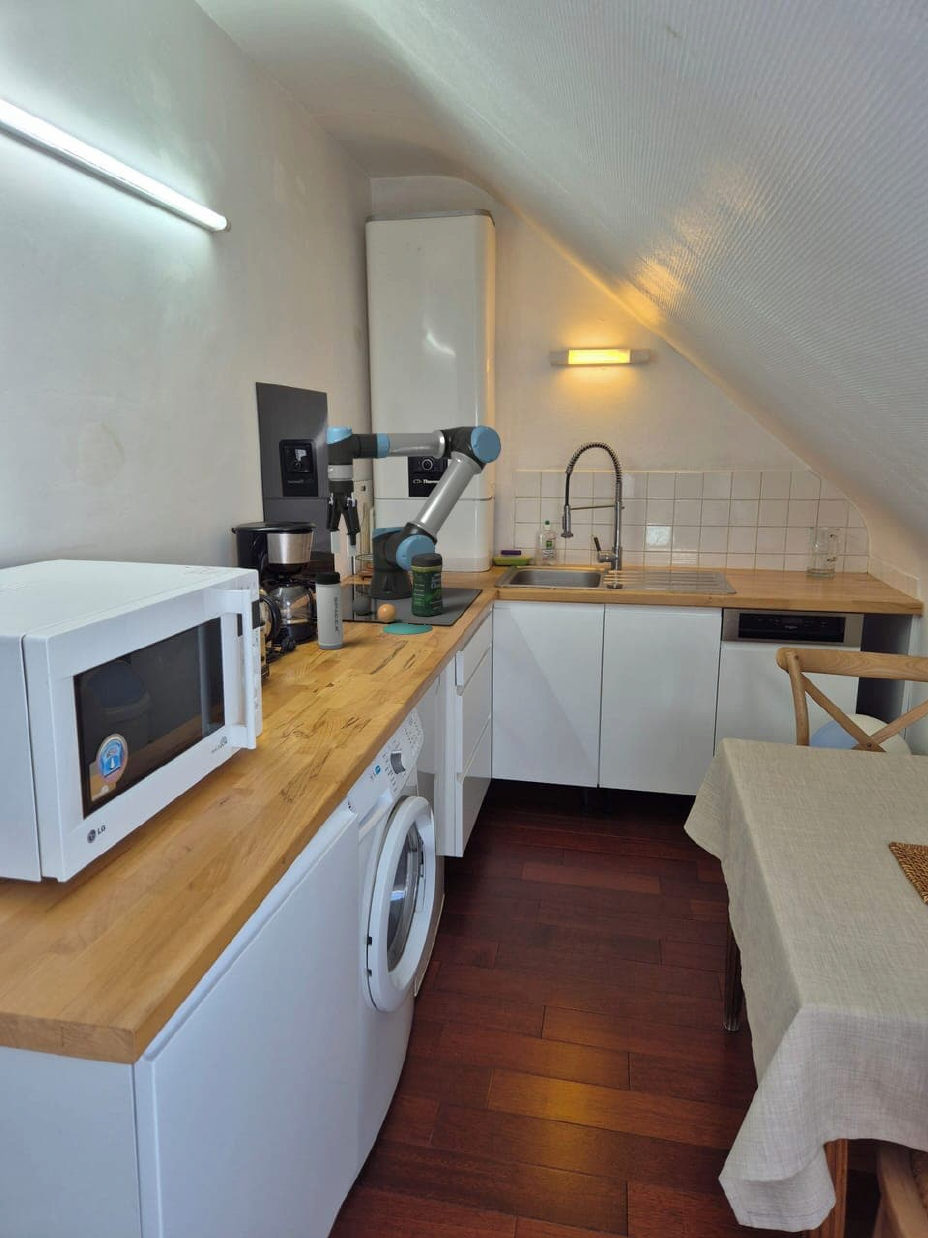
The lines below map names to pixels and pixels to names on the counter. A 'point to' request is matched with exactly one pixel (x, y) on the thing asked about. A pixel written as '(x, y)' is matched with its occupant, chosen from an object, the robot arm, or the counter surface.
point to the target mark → (406, 628)
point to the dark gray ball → (361, 605)
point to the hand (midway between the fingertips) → (343, 554)
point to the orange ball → (387, 613)
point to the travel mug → (329, 609)
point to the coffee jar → (427, 584)
